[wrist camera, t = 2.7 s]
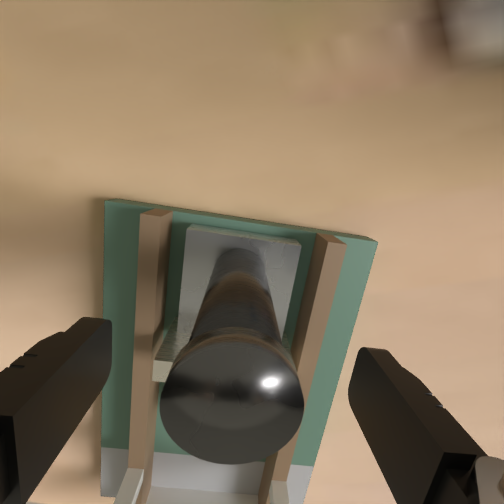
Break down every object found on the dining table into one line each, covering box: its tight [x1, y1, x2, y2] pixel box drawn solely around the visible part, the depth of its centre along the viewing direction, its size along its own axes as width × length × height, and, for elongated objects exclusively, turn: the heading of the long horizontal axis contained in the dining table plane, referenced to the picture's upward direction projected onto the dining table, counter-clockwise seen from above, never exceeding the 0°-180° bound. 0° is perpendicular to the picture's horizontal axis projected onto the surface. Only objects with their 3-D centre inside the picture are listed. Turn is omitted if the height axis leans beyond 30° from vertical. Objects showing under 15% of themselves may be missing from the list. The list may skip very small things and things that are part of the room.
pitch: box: [101, 199, 378, 504], centre depth 16 cm, size 23×16×10 cm
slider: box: [152, 224, 304, 465], centre depth 11 cm, size 7×7×10 cm
